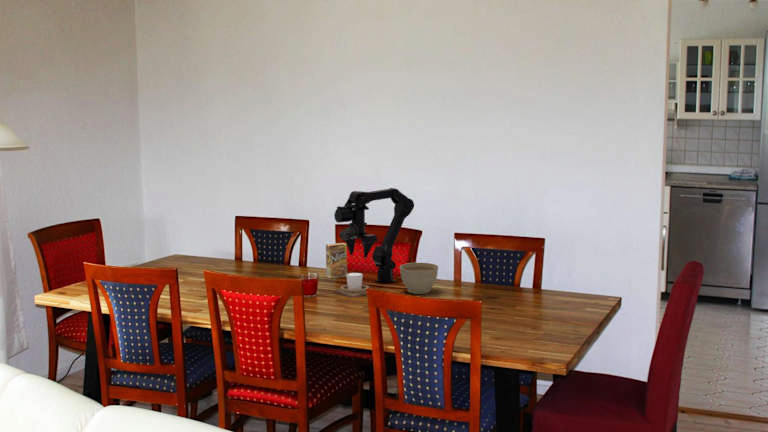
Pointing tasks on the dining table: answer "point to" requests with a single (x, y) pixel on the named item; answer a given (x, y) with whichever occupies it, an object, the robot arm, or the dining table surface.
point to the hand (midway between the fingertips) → (358, 256)
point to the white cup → (354, 281)
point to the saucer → (352, 291)
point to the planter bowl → (419, 277)
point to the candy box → (336, 260)
